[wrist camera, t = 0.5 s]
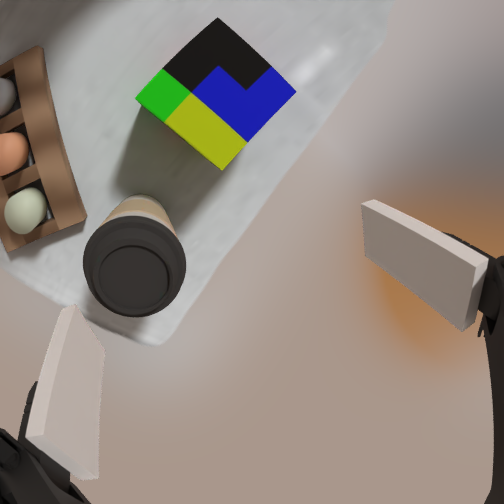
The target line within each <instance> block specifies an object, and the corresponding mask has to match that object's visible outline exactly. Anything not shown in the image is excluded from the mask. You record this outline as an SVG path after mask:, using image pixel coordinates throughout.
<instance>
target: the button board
mask: <svg viewBox="0 0 504 504" xmlns="http://www.w3.org/2000/svg"><path fill="white" fill-rule="evenodd" d="M13 74H15V76H16V82H17V88H18V93H19V98H20V103H21V108H20V109H18V110H16V111H14V112H12V113H11V114H9V115H7V116H5V117H4V118H2V119H0V134H4V133H10V132H12V131H14V130H16V129H17V128H19V127H21V126H23V125H26V129H27V133H28V137H29V141H30V145H31V148H32V152H33V155H34V159H35V162H36V164H34V165H32V166H30V167H28V168H26V169H24V170H22V171H20V172H18V173H16V174H14V175H12V176H10V177H9V176H8V174H6V175H3V176H0V237H1V240H2V242H3V244H4V247H5V249H6V251H7V253H8V252H10V251H12V250H15V249H17V248H19V247H21V246H24V245H26V244H28V243H30V242H33V241H35V240H37V239H40V238H42V237H44V236H47V235H49V234H52V233H54V232H57V231H59V230H61V229H64V228H66V227H69V226H72V225H74V224H77V223H79V222H82V221H84V220H85V218H86V217H87V214H86V211H85V208H84V205H83V203H82V200H81V197H80V194H79V191H78V188H77V185H76V182H75V179H74V176H73V173H72V170H71V167H70V163H69V160H68V157H67V154H66V150H65V147H64V143H63V140H62V136H61V132H60V128H59V125H58V121H57V117H56V112H55V108H54V104H53V100H52V95H51V90H50V86H49V81H48V75H47V70H46V64H45V58H44V52H43V48H41V47H39V46H38V45H37V46H35V47H33V48H31V49H29V50H27V51H25V52H23V53H22V54H20V55H18V56H16V57H14V58H13V59H11V60H9V61H7V62H6V63H4V64H2V65H1V66H0V78H4V79H6V78H8V77H10V76H12V75H13ZM40 178H41V181H42V184H43V187H44V190H45V193H46V196H47V198H48V201H49V204H50V207H51V209H52V212H53V215H54V217H53V218H50V219H48V220H46V221H43V222H41V223H39V224H38V225H37V226H36V227H35V228H34V229H33V230H32V231H31V232H29V233H27V234H18V233H16V232H14V231H13V230H11V229H10V227H9V226H8V224H7V222H6V220H5V214H4V211H5V206H6V203H7V201H8V200H9V199H10V198H11V197H12V196H14V195H15V194H14V191H15V190H17V189H19V188H21V187H23V186H25V185H27V184H29V183H31V182H33V181H35V180H37V179H40Z"/></svg>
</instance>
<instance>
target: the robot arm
mask: <svg viewBox="0 0 504 504" xmlns="http://www.w3.org/2000/svg"><path fill="white" fill-rule="evenodd" d="M361 208H362V219H363V231H364V246H365V256H366V257H367V258H369V259H370V260H371V261H373V262H374V263H375V264H377V265H378V266H379V267H381V268H382V269H383V270H385V271H386V272H387V273H389V274H390V275H391V276H393V277H394V278H395V279H396V280H398V281H399V282H400V283H402V284H403V285H404V286H405V287H407V288H408V289H410V290H411V291H412V292H413V293H414V294H416V295H417V296H418V297H420V298H421V299H422V300H424V301H425V302H426V303H427V304H428V305H430V306H431V307H432V308H433V309H435V310H436V311H437V312H438V313H440V314H441V315H442V316H443V317H444V318H445V319H447V320H448V321H449V322H451V323H452V324H453V325H454V326H455V327H456V328H458V329H459V330H460V331H461V332H463V331H464V330H465V329H467V328H468V327H469V326H470V325H472V324H473V323H474V322H475V319H476V315H477V311H478V310H479V311H481V312H482V313H483V317H482V321H481V324H480V327H479V331H478V337H480V336H481V332H482V330H484V337H485V341H486V347H487V354H488V361H489V369H490V377H491V388H492V399H493V418H494V419H493V421H494V457H493V477H492V486H491V490H490V493H489V495H488V497H487V499H486V501H485V503H484V504H504V256H500V257H498V258H497V259H495V258H494V257H492V256H490V255H489V254H487V253H485V252H483V251H482V250H480V249H478V248H476V247H474V246H473V245H470V244H469V243H467V242H465V241H462V239H460V238H458V237H456V236H454V235H452V234H449V233H444V232H440V231H438V230H436V229H434V228H432V227H430V226H428V225H426V224H424V223H422V222H421V221H418V220H417V219H415V218H413V217H411V216H408V215H406V214H404V213H402V212H400V211H398V210H396V209H394V208H392V207H390V206H388V205H386V204H383V203H381V202H379V201H376V200H375V199H374V200H371V201H367V202H364V203H362V204H361ZM104 358H105V350H104V348H103V346H102V345H101V343H100V342H99V341H98V339H97V337H96V336H95V334H94V333H93V331H92V329H91V328H90V326H89V325H88V323H87V321H86V320H85V318H84V317H83V315H82V313H81V312H80V310H79V308H78V306H77V305H76V304H74V305H71V306H69V307H66V308H63V309H62V311H61V313H60V315H59V318H58V321H57V324H56V327H55V330H54V332H53V335H52V338H51V341H50V344H49V347H48V350H47V353H46V357H45V360H44V363H43V366H42V370H41V373H40V377H39V380H38V381H36V382H35V383H34V385H33V386H32V388H31V390H30V391H29V394H28V398H27V402H26V404H27V405H26V406H25V409H24V414H23V418H22V422H21V426H20V431H19V436H18V441H17V440H15V439H14V438H13V437H12V436H11V435H10V434H9V433H7V432H6V431H5V430H4V429H1V428H0V504H91V503H90V502H89V501H88V500H87V499H86V498H85V496H84V495H83V494H82V493H81V492H80V490H79V489H78V488H77V487H76V486H75V485H74V484H73V483H72V482H70V473H71V474H72V475H74V476H76V477H77V478H78V479H80V480H89V479H99V423H100V404H101V390H102V378H103V368H104Z"/></svg>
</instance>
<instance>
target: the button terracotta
mask: <svg viewBox="0 0 504 504" xmlns="http://www.w3.org/2000/svg"><path fill="white" fill-rule="evenodd" d="M28 155H29V144H28V141H27V139H26V137H25V136H24V135H23V134H21V133H19V132H11V133H4V134H0V176H3V175H6V174H8V173H10V172H13V171H15V170H17V169H19V168H21V167H22V166H23V165H24V164H25V162H26V161H27V159H28Z"/></svg>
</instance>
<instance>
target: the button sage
mask: <svg viewBox="0 0 504 504" xmlns="http://www.w3.org/2000/svg"><path fill="white" fill-rule="evenodd" d="M46 213H47V201H46V198H45V196H44V194H43V193H42V192H41V191H40V190H38V189H36V188H33V187H28V188H25V189H23V190H22V191H20V192H18V193H17V194H15V195H14V196H12V197H11V198H10V199H9V200H8V201H7V203H6V206H5V211H4V214H5V220H6V222H7V224H8V226H9V227H10V229H11V230H13V231H14V232H16V233H18V234H27V233H29V232H31V231H32V230H33V229H34V228H35V227H36V226H37V225H38V224H39V223H40V222H41V221H42V220H43V219H44V217H45V215H46Z"/></svg>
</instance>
